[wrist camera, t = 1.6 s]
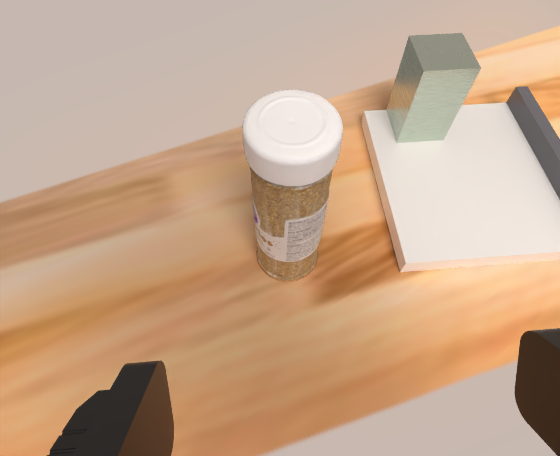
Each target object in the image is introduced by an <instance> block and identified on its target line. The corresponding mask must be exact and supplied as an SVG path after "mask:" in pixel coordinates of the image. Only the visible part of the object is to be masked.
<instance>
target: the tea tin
mask: <svg viewBox="0 0 560 456" xmlns="http://www.w3.org/2000/svg"><path fill="white" fill-rule="evenodd" d="M480 69H481V67H480V65H479V63H478V61H477V60H476V58H475V56H474V54H473V52H472V50H471V49H470V47H469V45H468V43H467V41H466V39H465V37H464V35H463V34H462V33H455V34H435V35H416V36H409V38H408V41H407V44H406V47H405V51H404V54H403V57H402V60H401V64H400V67H399V70H398V73H397V77H396V80H395V83H394V86H393V90H392V93H391V96H390V99H389V103H388V106H387V109H386V110H387V113H388V117H389V120H390V123H391V126H392V129H393V132H394V136H395V139H396V142H397V143H406V142H422V141H438V140H444V138H445V136H446V134H447V133H448V131H449V129H450V127H451V125H452V123H453V121H454V119H455V117H456V115H457V113H458V111H459V109H460V108H461V106H462V104H463V102H464V100H465V98H466V96H467V94H468V92H469V90H470V88H471V86H472V85H473V83H474V81H475V79H476V77H477V75H478V73H479V71H480Z"/></svg>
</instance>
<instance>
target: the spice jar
mask: <svg viewBox="0 0 560 456" xmlns="http://www.w3.org/2000/svg"><path fill="white" fill-rule="evenodd" d="M242 131H243V145H244V152H245V157H246V160H247V162H248V164H249V165H250V170H251V180H252V189H253V193H252V199H253V208H254V219H255V232H256V239H257V244H258V247H257V258H258V262H259V264H260V266H261V268H262V269H263V270H264V271H265V272H266V273H267V274H268V275H269V276H270V277H272V278H275V279H277V280H281V281H297V280H299V279H301V278H303V277H305V276H306V275H308V274H309V273H310V272H311V271H312V270H313V268H314V267H315V264H316V261H317V257H318V250H317V248H318V244H319V242H320V238H321V234H322V229H323V224H324V218H325V213H326V208H327V203H328V197H329V186H330V181H331V176H332V169H333V168H334V166H335V164H336V162H337V160H338V157H339V152H340V147H341V141H342V135H343V124H342V120H341V117H340V115H339V113H338V111H337V110H336V108H335V107H334V106H333V105H332V104H331V103H330V102H328V101H327V100H326V99H324V98H322V97H320V96H319V95H316V94H313V93H311V92H307V91H302V90H282V91H277V92H273V93H270V94H268V95H266V96H264V97H262V98H261V99H259V100H257V101H256V102H255V103H254V104H253V105H252V106H251V107H250V108H249V110H248V111H247V113H246V115H245V117H244V120H243V125H242Z"/></svg>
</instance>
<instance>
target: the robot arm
mask: <svg viewBox="0 0 560 456" xmlns="http://www.w3.org/2000/svg"><path fill="white" fill-rule="evenodd" d="M515 398H516V403H517V406H518V408H519V411H520V413H521V415H522V416H523V418H524V419H525V421H526V422H527V423H528V424H529V425H530V426H531V427H532V428H533V430H534V431H535V432H536V433H537V434H538V435H539V436H540V437H541V438H542V439H543V440H544V442H545V443H546V444H547V445H548V446H549V447H550V448H551V449H552V450H553V451H554V452H555V453H556V455H557V456H560V328H557V329H545V330H533V331H527V332H525V333H524V334H523V335H522V337H521V340H520V347H519V356H518V365H517V374H516V383H515ZM173 439H174V422H173V415H172V408H171V402H170V395H169V389H168V382H167V376H166V369H165V365H164V363H163V362H162V361H151V362H139V363H127V364H125V365H124V366H123V368H122V369H121V371H120V373H119V375H118V376H117V378H116V380H115V382H114V383H113V385H112V387H111V389H110V390H101V391H97V392H96V393H95V394H94V395H93V396H92V397H90V398H89V399H88V400H87V401H86V402H85V403H83V404H82V405H81V406H80V407H79V408H78V409H76V411H75V413H74V414H73V416H72V417H71V419H70V420H69V422H68V423H67V425H66V426H65V428H64V429H63V431H62V436H59V437H58V439H57V440H56V442H55V443H54V445H53V446H52V448H51V449H50V454H49V455H47V456H171V453H172V448H173Z"/></svg>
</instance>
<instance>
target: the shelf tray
mask: <svg viewBox="0 0 560 456" xmlns="http://www.w3.org/2000/svg"><path fill="white" fill-rule="evenodd" d="M361 125H362V129H363V133H364V136H365V140H366V144H367V148H368V152H369V155H370V159H371V163H372V167H373V171H374V175H375V178H376V182H377V186H378V190H379V194H380V197H381V201H382V205H383V209H384V213H385V217H386V220H387V224H388V228H389V232H390V236H391V240H392V243H393V247H394V251H395V255H396V259H397V262H398V266H399V270H400V272H409V271H423V270H436V269H449V268H462V267H475V266H488V265H502V264H515V263H528V262H541V261H554V260H560V139H559V137H558V136H557V134H556V133H555V131H554V129H553V128H552V126H551V124H550V123H549V121H548V119H547V118H546V116H545V115H544V113H543V111H542V110H541V108H540V106H539V105H538V103H537V101H536V100H535V98H534V97H533V95H532V93H531V92H530V90H529V88H528V87H516V88H515V90H514V91H513V93H512V94H511V96H510V97H509V99H508V101H507V102H506V103H491V104H474V105H462V106H461V108H460V109H459V111H458V113H457V115H456V117H455V119H454V121H453V123H452V125H451V127H450V129H449V131H448V133H447V134H446V136H445V138H444V140H438V141H422V142H406V143H397V142H396V139H395V136H394V132H393V129H392V126H391V123H390V120H389V117H388V113H387V110H372V111H364V114H363V118H362V122H361Z"/></svg>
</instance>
